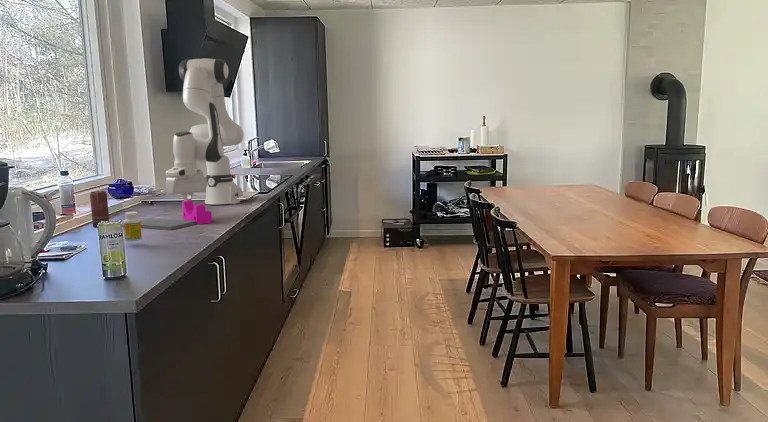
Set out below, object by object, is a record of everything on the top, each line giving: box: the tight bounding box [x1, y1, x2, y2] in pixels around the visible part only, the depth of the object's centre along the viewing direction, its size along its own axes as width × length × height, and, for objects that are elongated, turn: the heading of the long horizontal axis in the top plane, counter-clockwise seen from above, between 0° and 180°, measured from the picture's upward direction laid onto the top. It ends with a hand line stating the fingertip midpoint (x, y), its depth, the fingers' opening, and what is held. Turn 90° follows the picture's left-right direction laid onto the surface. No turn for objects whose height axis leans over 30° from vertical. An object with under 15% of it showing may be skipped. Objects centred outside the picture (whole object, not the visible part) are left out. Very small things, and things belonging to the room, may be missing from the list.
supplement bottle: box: [123, 211, 143, 242], centre depth 200 cm, size 5×5×10 cm
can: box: [89, 190, 110, 228], centre depth 230 cm, size 6×6×14 cm
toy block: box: [181, 200, 213, 225], centre depth 238 cm, size 15×6×8 cm, turn 40°
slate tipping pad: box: [140, 217, 197, 231], centre depth 231 cm, size 14×24×1 cm, turn 67°
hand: (187, 203), depth 245 cm, fingers closed
